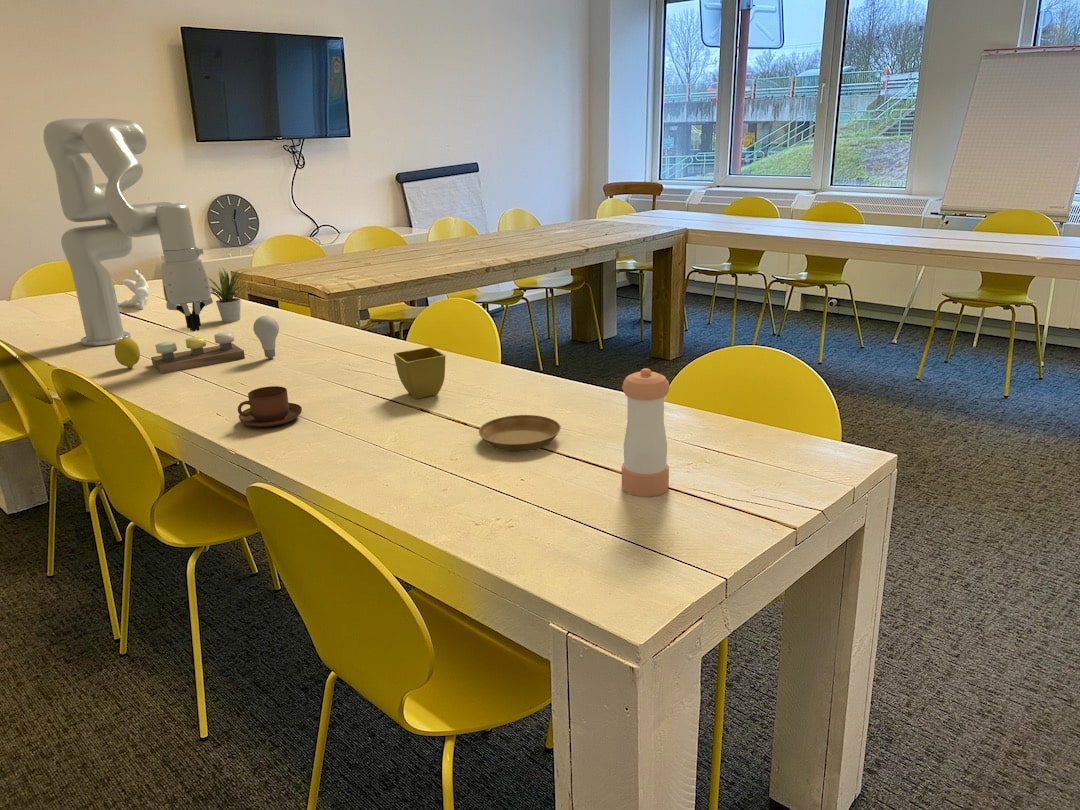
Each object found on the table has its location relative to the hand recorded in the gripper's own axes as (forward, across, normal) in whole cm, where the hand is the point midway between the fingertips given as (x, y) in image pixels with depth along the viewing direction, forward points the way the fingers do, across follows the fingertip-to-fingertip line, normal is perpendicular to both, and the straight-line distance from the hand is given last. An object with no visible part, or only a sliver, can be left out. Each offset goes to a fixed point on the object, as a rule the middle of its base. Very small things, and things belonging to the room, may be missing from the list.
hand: (194, 330), depth 205 cm
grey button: (+7, -7, -1) cm, 10 cm away
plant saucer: (+11, -32, +97) cm, 103 cm away
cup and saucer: (+10, 0, +56) cm, 57 cm away
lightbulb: (+9, -15, +9) cm, 20 cm away
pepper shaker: (+11, -36, +126) cm, 132 cm away
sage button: (+7, +7, -1) cm, 10 cm away
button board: (+8, 0, -1) cm, 8 cm away
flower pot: (+10, -31, +61) cm, 69 cm away
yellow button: (+7, 0, -1) cm, 7 cm away
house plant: (+8, -21, -43) cm, 48 cm away
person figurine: (+7, -2, -90) cm, 90 cm away
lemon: (+8, +15, -6) cm, 18 cm away
